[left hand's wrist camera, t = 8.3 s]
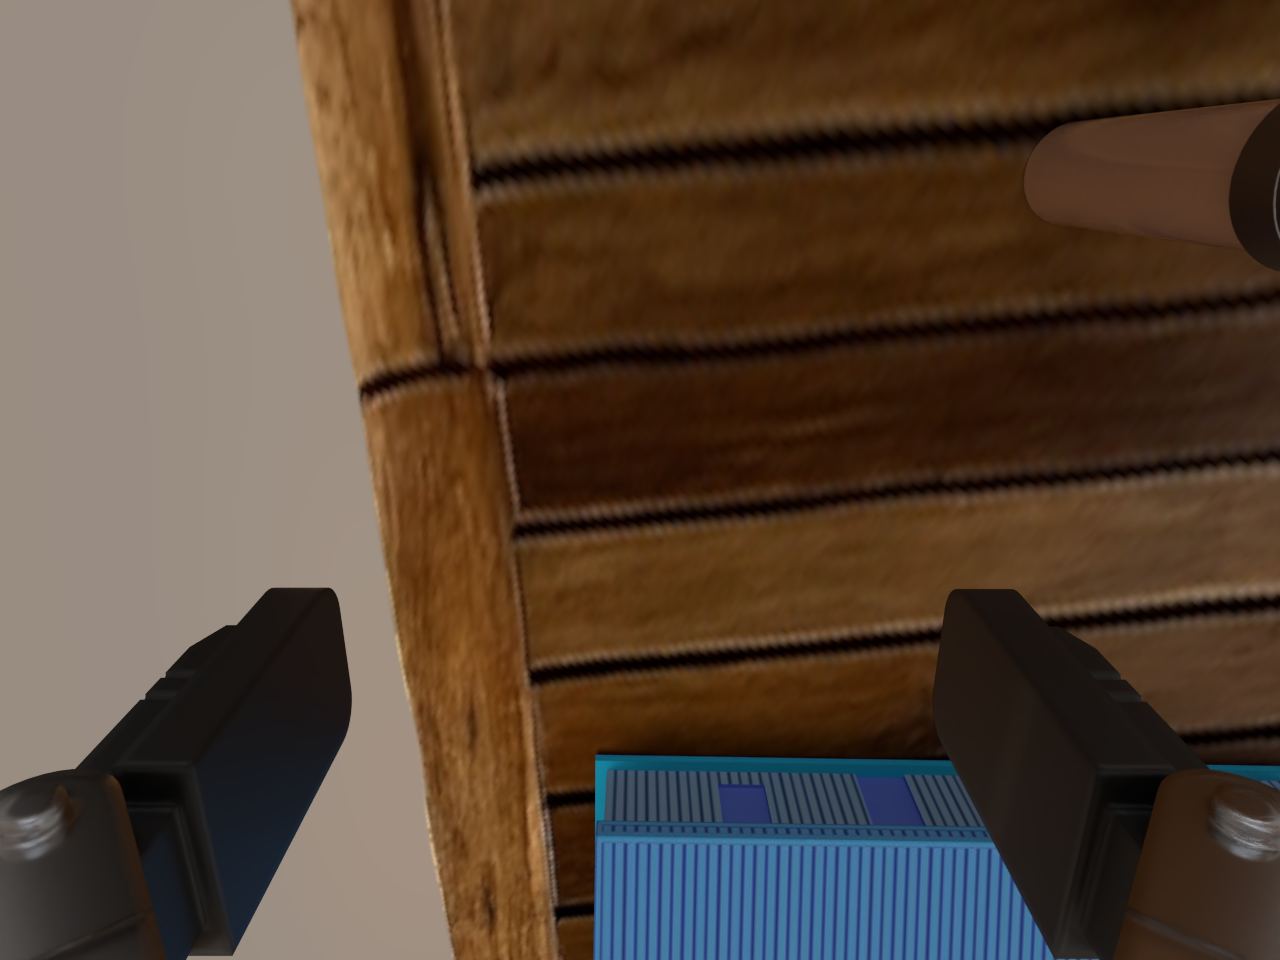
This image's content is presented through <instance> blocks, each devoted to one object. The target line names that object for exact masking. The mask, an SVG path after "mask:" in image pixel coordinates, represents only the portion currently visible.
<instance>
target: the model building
mask: <svg viewBox="0 0 1280 960" xmlns="http://www.w3.org/2000/svg"><path fill="white" fill-rule="evenodd" d="M1207 766H1208V768H1209V769H1210V770H1218V771H1224V772H1229V773H1233V774H1237V775H1241V776H1244V777H1247V778H1251V779H1253V780H1256V781H1259V782H1261V783H1264V784H1267V785H1269V786H1271V787H1273V788H1275V789H1277V790H1279V791H1280V766H1252V765H1207ZM594 960H1099V959H1054V958H1053V956H1052V954H1051V952H1050V950H1049V948H1048V946H1047V944H1046V942H1045V940H1044V938H1043V937H1042V935H1041V933H1040V931H1039V929H1038V927H1037V925H1036V923H1035V921H1034V919H1033V917H1032V916H1031V914H1030V912H1029V910H1028V908H1027V906H1026V904H1025V902H1024V900H1023V898H1022V896H1021V895H1020V893H1019V891H1018V889H1017V887H1016V885H1015V883H1014V881H1013V879H1012V877H1011V875H1010V874H1009V872H1008V870H1007V868H1006V866H1005V864H1004V862H1003V860H1002V858H1001V856H1000V854H999V853H998V851H997V849H996V847H995V845H994V843H993V841H992V839H991V837H990V835H989V833H988V832H987V830H986V828H985V826H984V824H983V822H982V820H981V818H980V816H979V814H978V812H977V810H976V809H975V807H974V805H973V803H972V801H971V799H970V797H969V795H968V793H967V791H966V789H965V788H964V786H963V784H962V782H961V780H960V778H959V776H958V774H957V772H956V770H955V768H954V767H953V765H952V763H951V761H947V760H886V759H825V758H764V757H703V756H642V755H596V775H595V903H594Z"/></svg>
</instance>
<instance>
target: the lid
mask: <svg viewBox="0 0 1280 960" xmlns="http://www.w3.org/2000/svg"><path fill="white" fill-rule="evenodd" d="M1229 213H1230V218H1231V223H1232V226H1233V229H1234V232H1235V234H1236V236H1237V238H1238V240H1239V242H1240V243H1241V245H1242V246H1243V247H1244V249H1245V250H1246V251H1247V252H1248V254H1250V255H1251V256H1252V257H1253V258H1254V259H1255V260H1256V261H1258V262H1259V263H1261V264H1263V265H1264V266H1266V267H1268V268H1271V269H1273V270H1276V271H1280V103H1279V104H1278V105H1277V106H1276V107H1275V108H1274V109H1273V110H1272V111H1271V112H1269V113H1268V114H1267V115H1266V116H1265V118H1264V119H1263V120H1262V121H1261V122H1260V123H1259V124H1258V126H1257V127H1256V128H1255V130H1254V131H1253V132H1252V134H1251V135H1250V137H1249V138H1248V140H1247V142H1246V143H1245V145H1244V147H1243V149H1242V150H1241V153H1240V155H1239V157H1238V160H1237V162H1236V165H1235V168H1234V171H1233V174H1232V178H1231V184H1230V189H1229Z"/></svg>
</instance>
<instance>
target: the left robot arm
mask: <svg viewBox="0 0 1280 960" xmlns="http://www.w3.org/2000/svg"><path fill="white" fill-rule="evenodd" d="M351 706H352V693H351V684H350V677H349V670H348V663H347V656H346V649H345V642H344V634H343V627H342V620H341V613H340V607H339V602H338V598H337V596H336V594H335V592H334V591H333V590H332V589H331V588H271V589H269V590H268V591H267V592H265V594H264V595H263V596H262V597H261V598H260V599H259V600H258V602H257V603H256V604H255V605H254V606H253V607H252V608H251V609H250V611H249V612H248V613H247V614H246V615H245V616H244V617H243V619H242V620H241V621H240V622H239V623H238V624H237V625H226V626H225V627H223V628H221V629H219V630H218V631H216V632H214V633H213V634H211V635H209V636H208V637H206V638H204V639H203V640H201V641H199V642H197V643H196V644H194V645H192V646H191V647H189V648H188V649H187V651H186V652H185V653H184V654H183V655H182V656H181V657H180V658H179V659H178V660H177V661H176V662H175V663H174V664H173V665H172V666H171V668H170V669H169V670H168V671H167V672H166V677H165V678H160V679H159V680H158V681H157V682H156V684H155V685H154V686H153V687H152V688H151V689H150V690H149V691H148V692H147V693H146V697H145V700H140V701H139V702H138V703H137V704H136V705H135V706H134V707H133V708H132V709H131V710H130V711H129V712H128V713H127V714H126V715H125V717H124V718H123V719H122V720H121V721H120V722H119V723H118V724H117V725H116V726H115V727H114V728H113V729H112V730H111V731H110V733H109V734H108V735H107V736H106V737H105V738H104V739H103V740H102V741H101V742H100V743H99V744H98V745H97V746H96V747H95V748H94V750H93V751H92V752H91V753H90V754H89V755H88V756H87V757H86V758H85V759H84V760H83V761H82V762H81V763H80V764H79V766H78V767H77V768H76V769H70V770H62V771H56V772H52V773H47V774H43V775H39V776H36V777H33V778H30V779H27V780H24V781H22V782H19V783H16V784H14V785H11V786H9V787H7V788H5V789H3V790H1V791H0V960H186V959H187V957H188V956H232V955H233V954H234V952H235V950H236V948H237V946H238V944H239V942H240V940H241V938H242V936H243V934H244V932H245V931H246V929H247V927H248V925H249V923H250V921H251V919H252V917H253V915H254V913H255V911H256V909H257V907H258V905H259V903H260V901H261V900H262V898H263V896H264V894H265V892H266V890H267V888H268V886H269V884H270V882H271V880H272V878H273V876H274V874H275V872H276V871H277V869H278V867H279V865H280V863H281V861H282V859H283V857H284V855H285V853H286V851H287V849H288V847H289V845H290V843H291V841H292V840H293V838H294V836H295V834H296V832H297V830H298V828H299V826H300V824H301V822H302V820H303V818H304V816H305V814H306V812H307V811H308V809H309V807H310V805H311V803H312V801H313V799H314V797H315V795H316V793H317V791H318V789H319V787H320V786H321V784H322V782H323V780H324V778H325V776H326V774H327V772H328V770H329V768H330V766H331V764H332V762H333V760H334V758H335V757H336V755H337V753H338V751H339V749H340V747H341V745H342V743H343V741H344V739H345V736H346V733H347V730H348V727H349V722H350V716H351ZM933 715H934V721H935V726H936V730H937V734H938V737H939V739H940V741H941V744H942V746H943V747H944V749H945V751H946V753H947V755H948V757H949V759H950V761H951V763H952V765H953V767H954V768H955V770H956V772H957V774H958V776H959V778H960V780H961V782H962V784H963V786H964V788H965V789H966V791H967V793H968V795H969V797H970V799H971V801H972V803H973V805H974V807H975V809H976V810H977V812H978V814H979V816H980V818H981V820H982V822H983V824H984V826H985V828H986V830H987V832H988V833H989V835H990V837H991V839H992V841H993V843H994V845H995V847H996V849H997V851H998V853H999V854H1000V856H1001V858H1002V860H1003V862H1004V864H1005V866H1006V868H1007V870H1008V872H1009V874H1010V875H1011V877H1012V879H1013V881H1014V883H1015V885H1016V887H1017V889H1018V891H1019V893H1020V895H1021V896H1022V898H1023V900H1024V902H1025V904H1026V906H1027V908H1028V910H1029V912H1030V914H1031V916H1032V917H1033V919H1034V921H1035V923H1036V925H1037V927H1038V929H1039V931H1040V933H1041V935H1042V937H1043V938H1044V940H1045V942H1046V944H1047V946H1048V948H1049V950H1050V952H1051V954H1052V956H1053V958H1054V959H1099V960H1280V791H1279V790H1277V789H1275V788H1273V787H1271V786H1269V785H1267V784H1264V783H1261V782H1259V781H1256V780H1253V779H1251V778H1247V777H1244V776H1241V775H1237V774H1233V773H1229V772H1224V771H1218V770H1210V769H1209V768H1208V766H1207V765H1206V764H1205V763H1204V762H1203V761H1202V760H1201V759H1200V758H1199V757H1198V756H1197V755H1196V754H1195V753H1194V752H1193V751H1192V750H1191V749H1190V747H1189V746H1188V745H1187V744H1186V743H1185V742H1184V741H1183V740H1182V739H1181V738H1180V737H1179V736H1178V735H1177V734H1176V733H1175V732H1174V731H1173V730H1172V728H1171V727H1170V726H1169V725H1168V724H1167V723H1166V722H1165V721H1164V720H1163V719H1162V718H1161V717H1160V716H1159V715H1158V714H1157V713H1156V712H1155V711H1154V709H1153V708H1152V707H1151V706H1150V705H1149V704H1148V703H1147V702H1142V701H1141V696H1140V695H1139V694H1138V693H1137V692H1136V690H1135V689H1134V688H1133V687H1132V686H1131V685H1130V684H1129V683H1128V682H1127V681H1126V680H1121V678H1120V674H1119V673H1118V671H1117V670H1116V669H1115V668H1114V667H1113V666H1112V665H1111V664H1110V663H1109V662H1108V661H1107V660H1106V659H1105V658H1104V657H1103V656H1102V655H1101V654H1100V653H1099V651H1098V650H1097V649H1095V648H1094V647H1092V646H1090V645H1089V644H1087V643H1085V642H1084V641H1082V640H1080V639H1079V638H1077V637H1075V636H1073V635H1072V634H1070V633H1068V632H1067V631H1065V630H1063V629H1062V628H1060V627H1049V626H1048V625H1047V624H1046V623H1045V622H1044V621H1043V619H1042V618H1041V617H1040V616H1039V615H1038V614H1037V613H1036V612H1035V611H1034V609H1033V608H1032V607H1031V606H1030V605H1029V604H1028V603H1027V602H1026V600H1025V599H1024V598H1023V597H1022V596H1021V595H1020V594H1019V593H1018V592H1017V591H1015V590H1013V589H955V590H953V591H952V592H951V593H950V594H949V596H948V599H947V602H946V606H945V612H944V619H943V626H942V633H941V640H940V647H939V654H938V661H937V668H936V675H935V682H934V689H933Z"/></svg>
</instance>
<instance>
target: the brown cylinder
mask: <svg viewBox="0 0 1280 960" xmlns="http://www.w3.org/2000/svg"><path fill="white" fill-rule="evenodd" d="M1279 103H1280V99H1277V100H1268V101H1259V102H1250V103H1240V104H1231V105H1222V106H1212V107H1203V108H1194V109H1184V110H1175V111H1166V112H1156V113H1147V114H1138V115H1129V116H1119V117H1110V118H1101V119H1091V120H1082V121H1075V122H1070V123H1067V124H1064V125H1062V126H1060V127H1057V128H1056V129H1054V130H1053V131H1051V132H1050V133H1049V134H1047V135H1046V136H1045V137H1044V138H1043V139H1042V140H1041V141H1040V142H1039V143H1038V145H1037V146H1036V147H1035V149H1034V150H1033V152H1032V154H1031V156H1030V158H1029V160H1028V163H1027V165H1026V169H1025V174H1024V191H1025V195H1026V199H1027V201H1028V203H1029V206H1030V207H1031V209H1032V210H1033V211H1034V212H1035V214H1036V215H1037V216H1039V217H1040V218H1041V219H1043V220H1044V221H1046V222H1048V223H1051V224H1054V225H1059V226H1066V227H1073V228H1081V229H1088V230H1095V231H1103V232H1110V233H1117V234H1124V235H1132V236H1139V237H1146V238H1154V239H1161V240H1168V241H1175V242H1183V243H1190V244H1197V245H1205V246H1212V247H1219V248H1226V249H1234V250H1241V251H1246V250H1245V249H1244V247H1243V246H1242V245H1241V243H1240V242H1239V240H1238V238H1237V236H1236V234H1235V232H1234V229H1233V226H1232V223H1231V218H1230V213H1229V189H1230V184H1231V178H1232V174H1233V171H1234V168H1235V165H1236V162H1237V160H1238V157H1239V155H1240V153H1241V150H1242V149H1243V147H1244V145H1245V143H1246V142H1247V140H1248V138H1249V137H1250V135H1251V134H1252V132H1253V131H1254V130H1255V128H1256V127H1257V126H1258V124H1259V123H1260V122H1261V121H1262V120H1263V119H1264V118H1265V116H1266V115H1267V114H1268V113H1269V112H1271V111H1272V110H1273V109H1274V108H1275V107H1276V106H1277V105H1278V104H1279Z"/></svg>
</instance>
